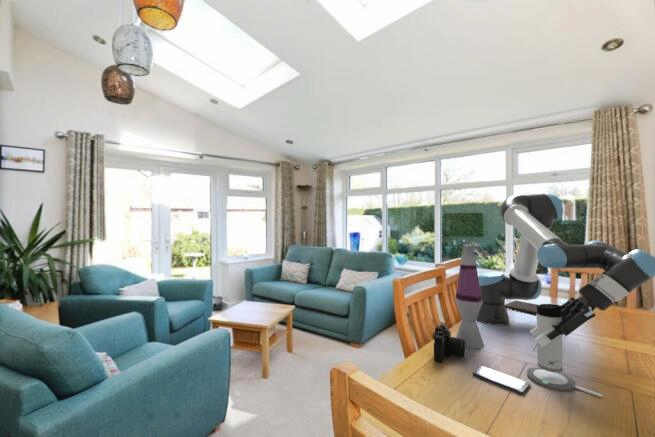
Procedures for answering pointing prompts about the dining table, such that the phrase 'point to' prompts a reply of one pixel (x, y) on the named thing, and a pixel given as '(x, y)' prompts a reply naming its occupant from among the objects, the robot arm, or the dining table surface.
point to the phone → (502, 380)
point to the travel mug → (552, 351)
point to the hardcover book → (523, 307)
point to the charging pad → (554, 380)
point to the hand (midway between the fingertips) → (536, 339)
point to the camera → (446, 344)
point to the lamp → (469, 299)
